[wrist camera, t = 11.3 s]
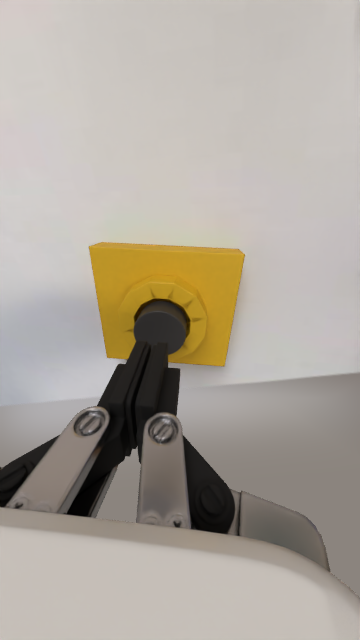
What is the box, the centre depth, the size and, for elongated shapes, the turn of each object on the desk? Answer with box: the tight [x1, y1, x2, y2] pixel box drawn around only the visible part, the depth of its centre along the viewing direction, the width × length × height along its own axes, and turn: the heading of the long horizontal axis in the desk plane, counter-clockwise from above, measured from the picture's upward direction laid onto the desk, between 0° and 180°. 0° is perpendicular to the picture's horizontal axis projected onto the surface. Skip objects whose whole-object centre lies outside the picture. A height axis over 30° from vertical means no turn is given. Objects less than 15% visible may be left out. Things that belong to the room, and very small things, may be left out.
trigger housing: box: [89, 242, 245, 366], centre depth 17 cm, size 10×11×4 cm
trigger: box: [133, 301, 187, 355], centre depth 15 cm, size 4×4×2 cm
